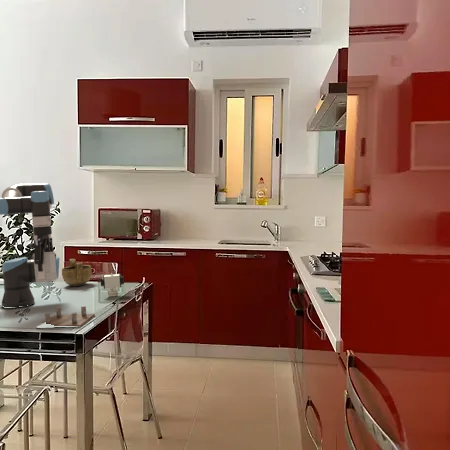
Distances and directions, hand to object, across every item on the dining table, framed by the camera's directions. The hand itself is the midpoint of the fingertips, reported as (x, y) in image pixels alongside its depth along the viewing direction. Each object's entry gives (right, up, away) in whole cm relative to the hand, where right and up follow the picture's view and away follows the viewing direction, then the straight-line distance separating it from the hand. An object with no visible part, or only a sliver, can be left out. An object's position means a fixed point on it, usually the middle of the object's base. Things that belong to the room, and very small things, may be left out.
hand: (46, 276), depth 213 cm
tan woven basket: (-8, -13, +73) cm, 75 cm away
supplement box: (0, -2, 0) cm, 2 cm away
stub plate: (+14, -17, -13) cm, 26 cm away
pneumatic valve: (+21, -14, +37) cm, 45 cm away
